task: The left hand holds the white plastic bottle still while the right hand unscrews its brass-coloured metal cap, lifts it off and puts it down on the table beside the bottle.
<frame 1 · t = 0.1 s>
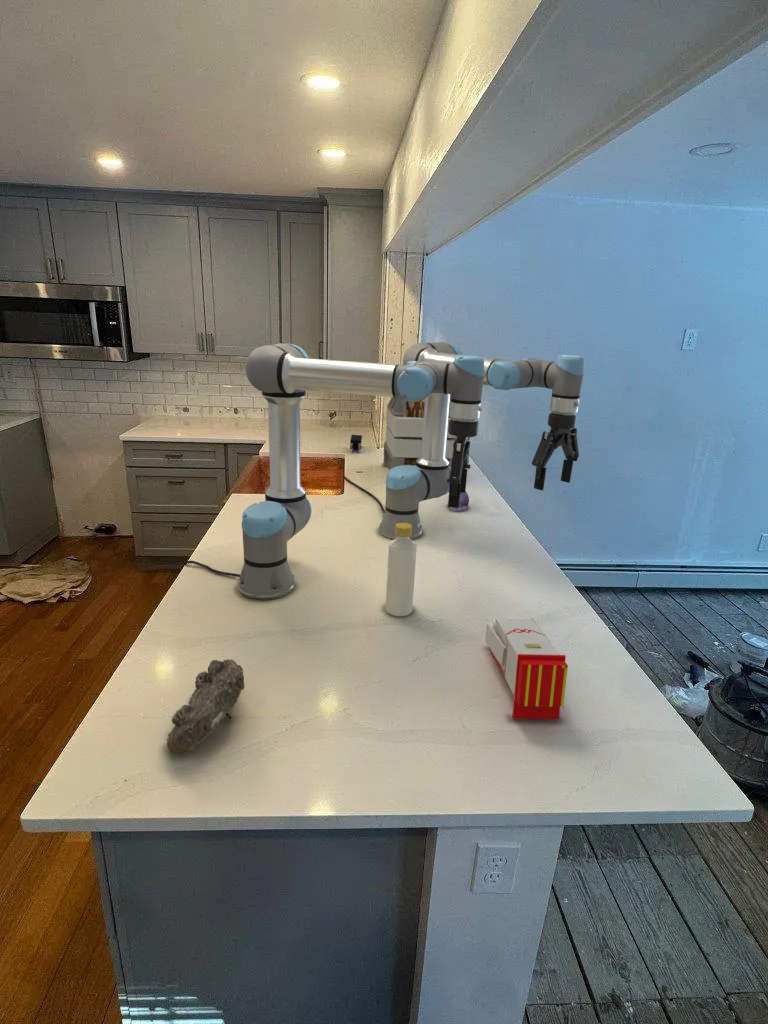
left hand: (456, 499, 150), 28 cm above the counter, tool pointing down, fingers open, 13 cm apart
right hand: (552, 485, 166), 28 cm above the counter, tool pointing down, fingers open, 13 cm apart
grey slatted box: (419, 473, 275), on the counter
figurine: (458, 508, 229), on the counter
toy: (517, 677, 124), on the counter
figurine character: (355, 450, 313), on the counter
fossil: (212, 717, 108), on the counter
bottle: (398, 609, 150), on the counter
cap: (403, 526, 142), point 23 cm above the counter, screwed on, not yet turned
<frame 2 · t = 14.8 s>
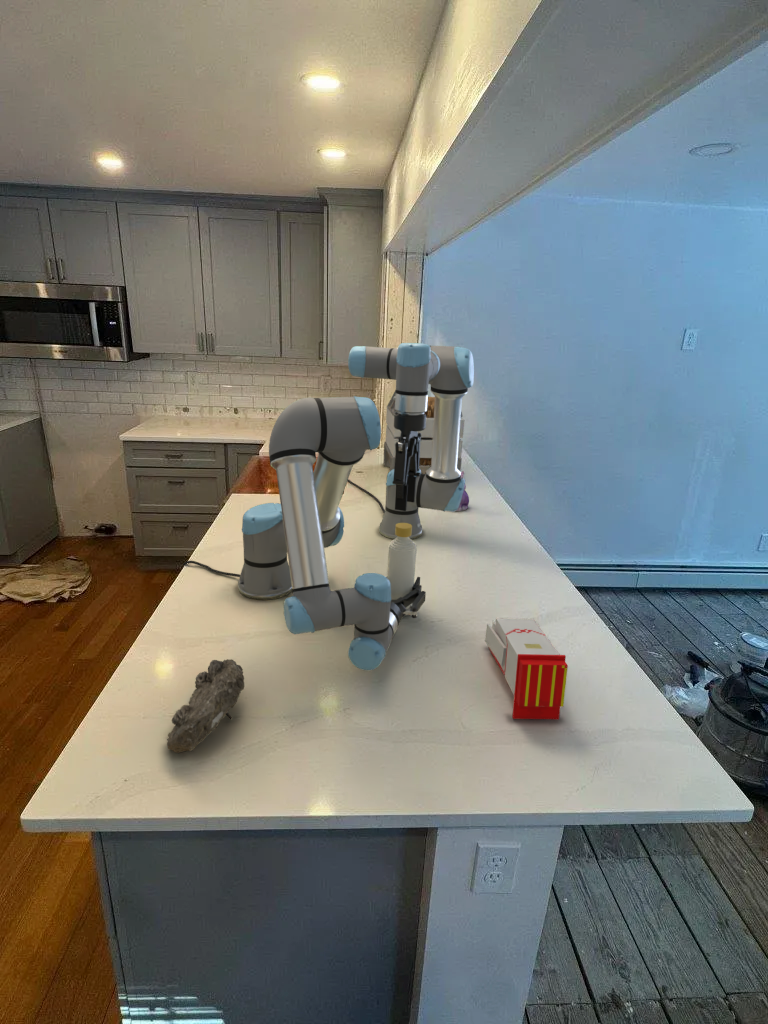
left hand: (404, 579, 152), 7 cm above the counter, tool horizontal, fingers closed on bottle, 7 cm apart
right hand: (405, 505, 140), 29 cm above the counter, tool pointing down, fingers open, 6 cm apart
bottle: (398, 609, 150), on the counter, touching left hand
everything else where it was.
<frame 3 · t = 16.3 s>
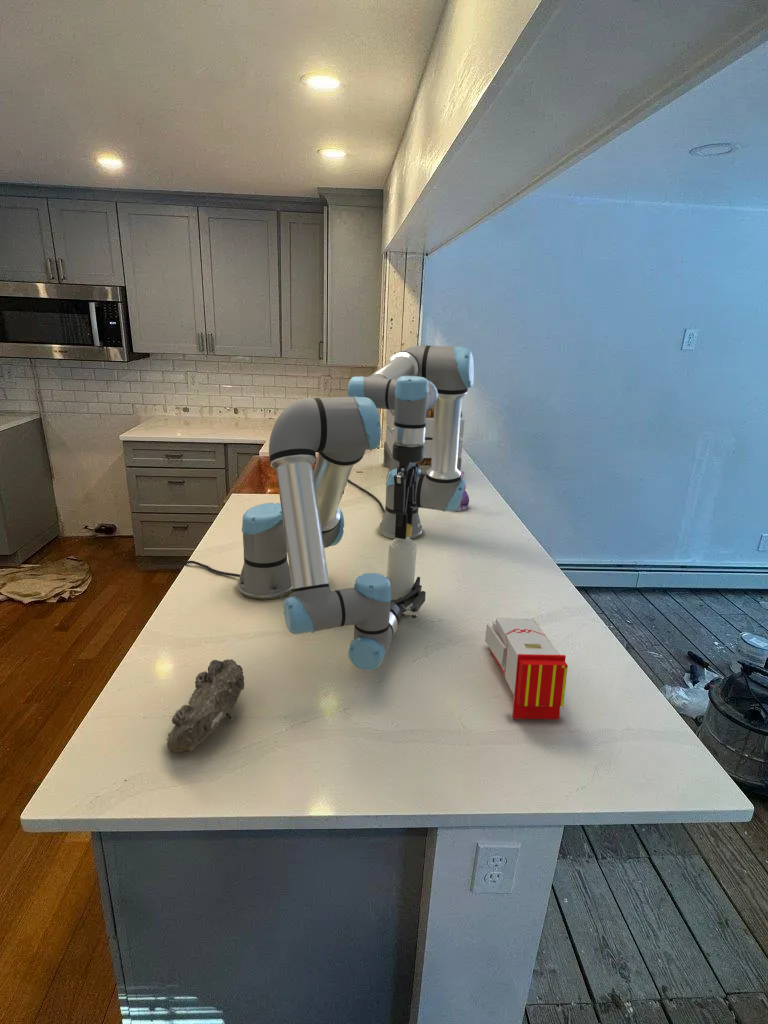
left hand: (404, 579, 152), 6 cm above the counter, tool horizontal, fingers closed on bottle, 7 cm apart
right hand: (403, 534, 143), 21 cm above the counter, tool pointing down, fingers closed on cap, 4 cm apart
bottle: (398, 609, 150), on the counter, touching left hand
cap: (403, 526, 142), point 23 cm above the counter, screwed on, not yet turned, touching right hand
everything else where it was.
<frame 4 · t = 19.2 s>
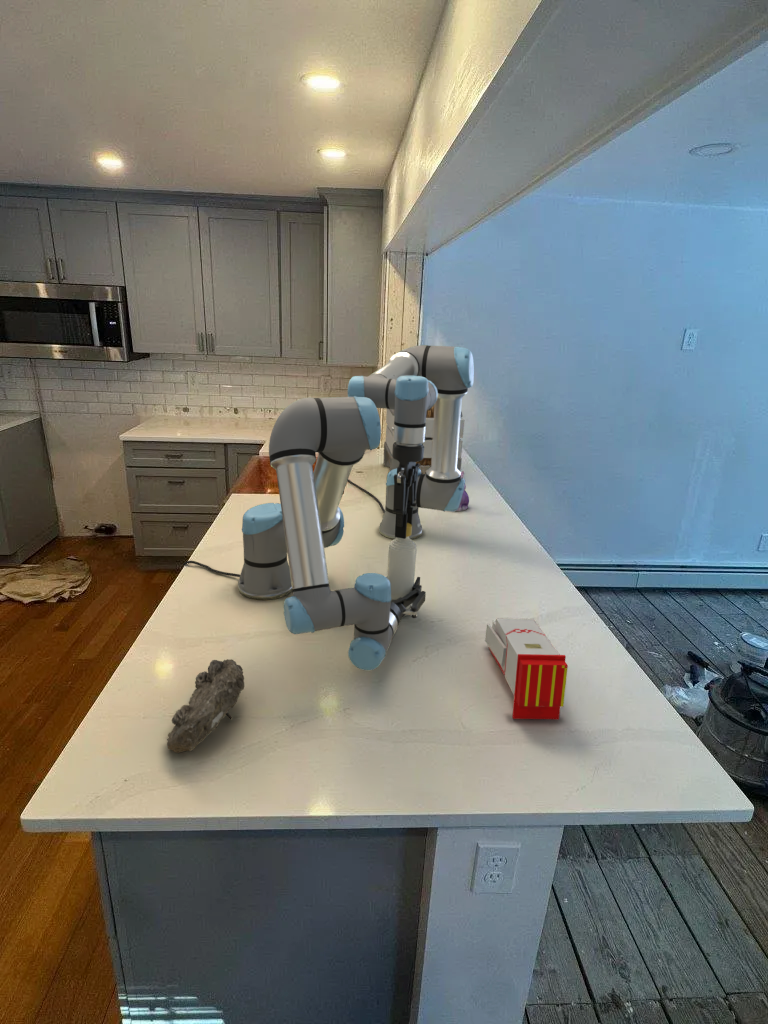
left hand: (404, 579, 152), 6 cm above the counter, tool horizontal, fingers closed on bottle, 7 cm apart
right hand: (403, 533, 143), 22 cm above the counter, tool pointing down, fingers closed on cap, 4 cm apart
bottle: (398, 609, 150), on the counter, touching left hand
cap: (403, 526, 142), point 24 cm above the counter, turned 88° so far, risen 0.1 cm, still on its thread, touching right hand
everything else where it was.
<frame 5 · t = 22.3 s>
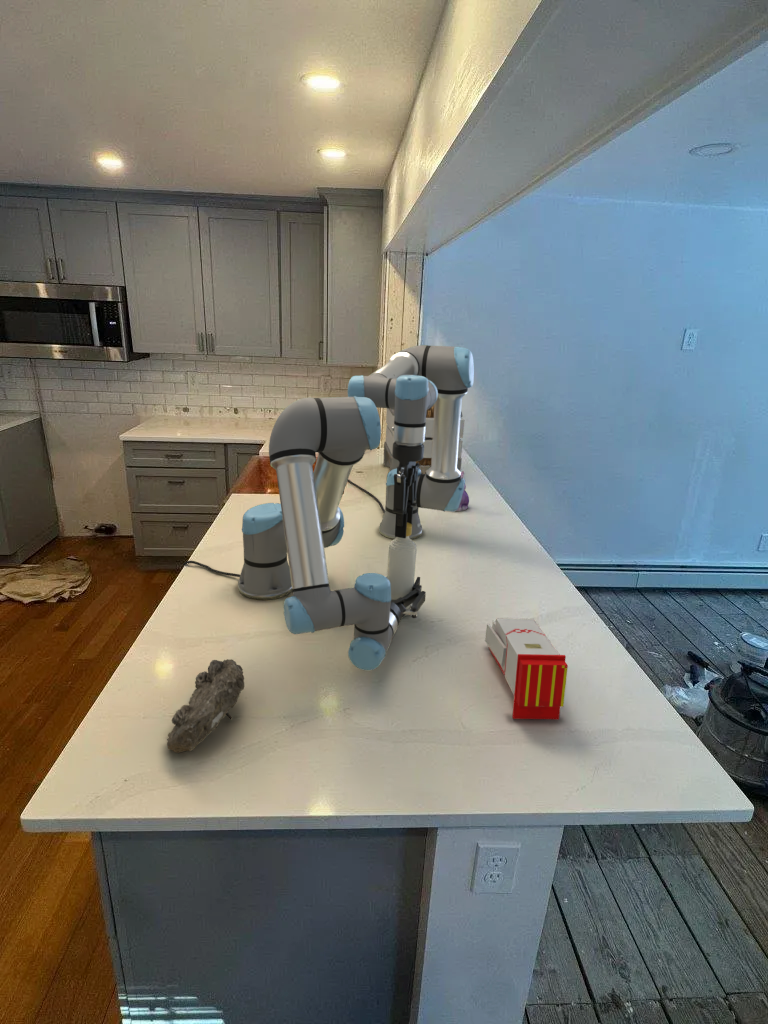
left hand: (404, 579, 152), 7 cm above the counter, tool horizontal, fingers closed on bottle, 7 cm apart
right hand: (403, 533, 143), 22 cm above the counter, tool pointing down, fingers closed on cap, 4 cm apart
bottle: (398, 609, 150), on the counter, touching left hand
cap: (403, 526, 142), point 24 cm above the counter, turned 175° so far, risen 0.2 cm, still on its thread, touching right hand
everything else where it was.
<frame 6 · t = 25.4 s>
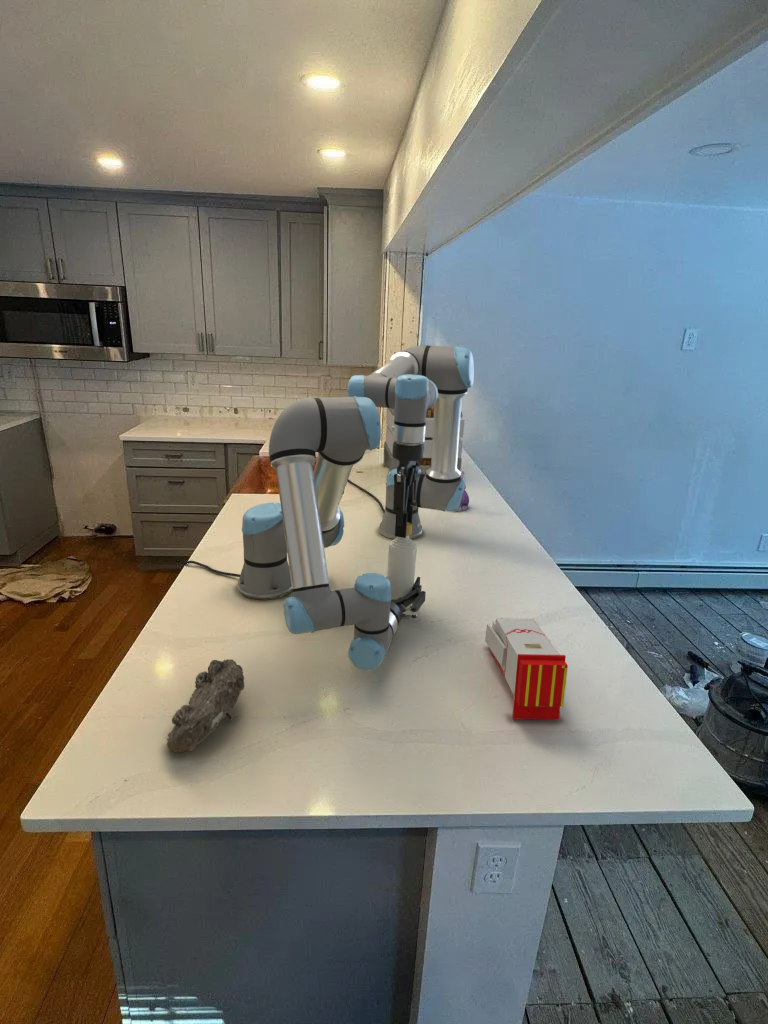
left hand: (404, 579, 152), 7 cm above the counter, tool horizontal, fingers closed on bottle, 7 cm apart
right hand: (403, 533, 142), 22 cm above the counter, tool pointing down, fingers closed on cap, 4 cm apart
bottle: (398, 609, 150), on the counter, touching left hand
cap: (403, 525, 142), point 24 cm above the counter, turned 263° so far, risen 0.3 cm, still on its thread, touching right hand
everything else where it was.
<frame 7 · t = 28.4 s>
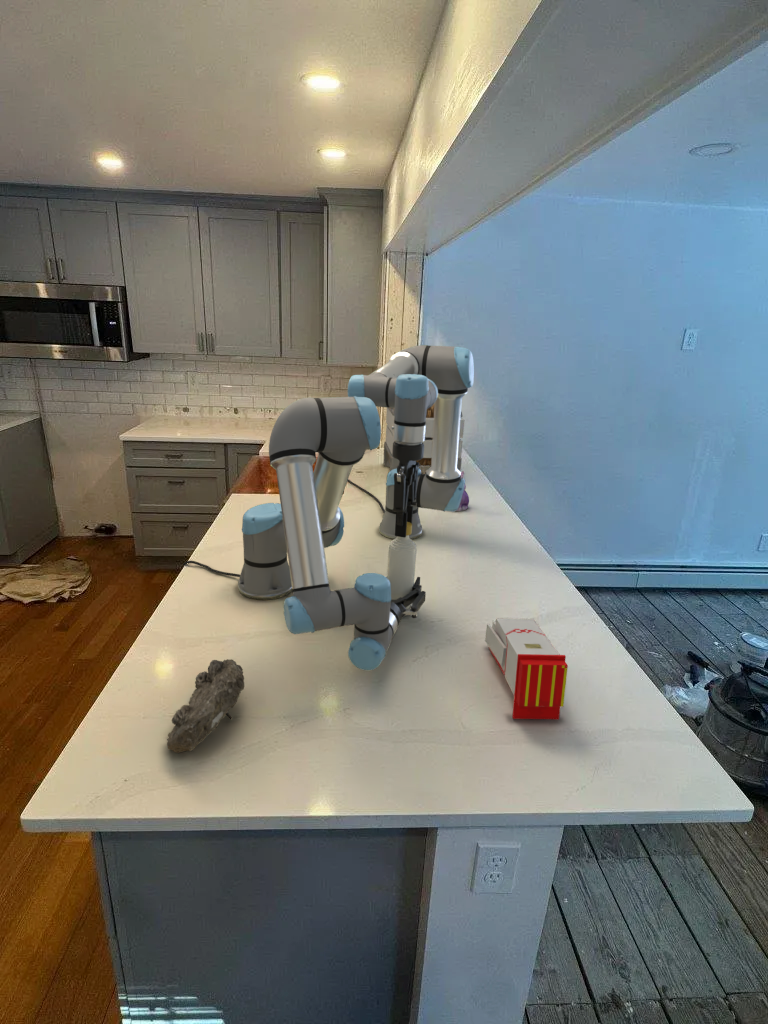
left hand: (404, 579, 152), 7 cm above the counter, tool horizontal, fingers closed on bottle, 7 cm apart
right hand: (403, 532, 142), 22 cm above the counter, tool pointing down, fingers closed on cap, 4 cm apart
bottle: (398, 609, 150), on the counter, touching left hand
cap: (403, 525, 142), point 24 cm above the counter, turned 350° so far, risen 0.4 cm, still on its thread, touching right hand
everything else where it was.
when the right hand's fingers open (1 cm above the counter, at t = 35.0 s): cap stays where it is, point 2 cm above the counter.
when the left hand's fingers open (7 cm above the counter, at t = 36.3 s): bottle stays where it is, on the counter.
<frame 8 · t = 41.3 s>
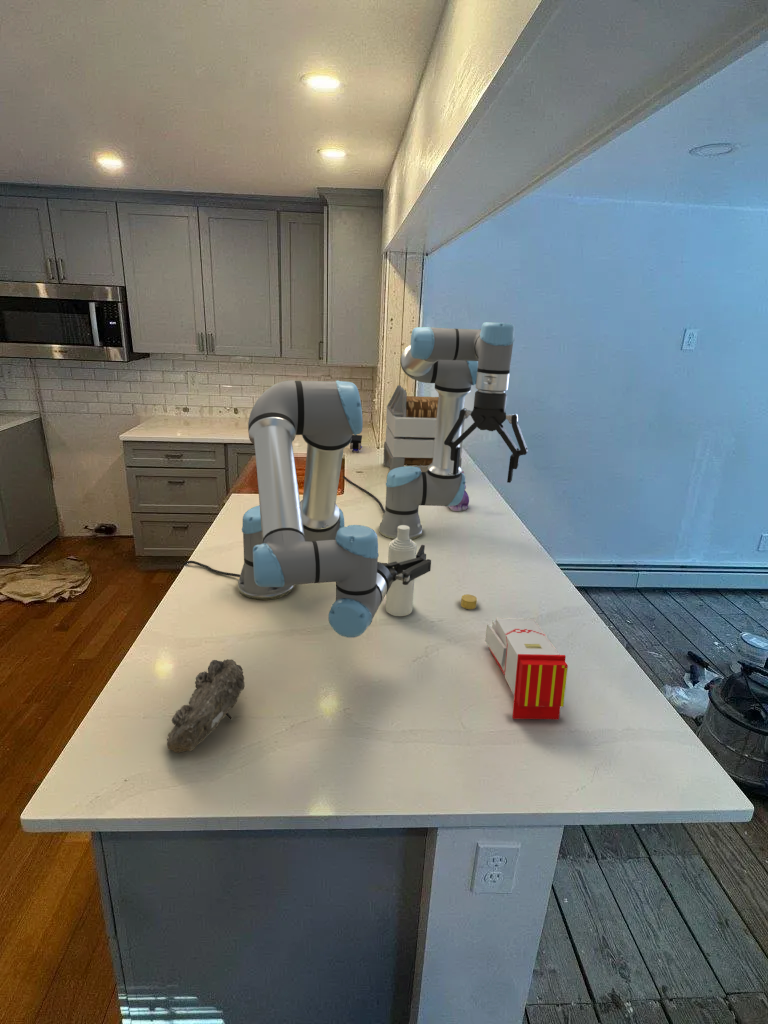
left hand: (394, 546, 134), 22 cm above the counter, tool horizontal, fingers open, 13 cm apart
right hand: (482, 477, 141), 36 cm above the counter, tool pointing down, fingers open, 13 cm apart
bottle: (398, 609, 150), on the counter
cap: (469, 599, 153), point 2 cm above the counter, off its thread
everything else where it was.
at the end: cap came off its thread; cap point 2.0 cm above the counter; the left hand is holding nothing; the right hand is holding nothing; bottle tilted 0°; bottle moved 0.0 cm from its start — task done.
